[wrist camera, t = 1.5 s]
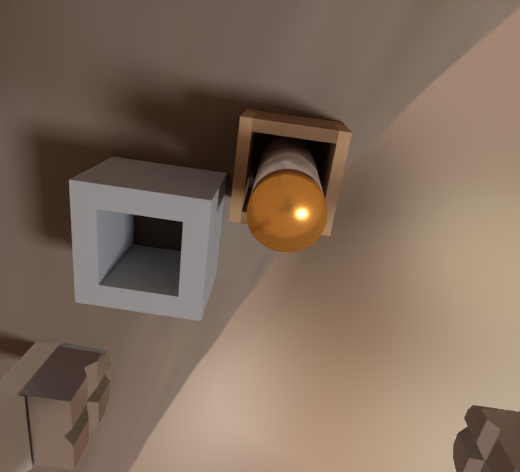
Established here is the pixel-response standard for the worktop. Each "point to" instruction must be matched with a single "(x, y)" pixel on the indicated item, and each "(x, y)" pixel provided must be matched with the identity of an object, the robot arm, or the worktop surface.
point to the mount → (296, 128)
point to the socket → (137, 256)
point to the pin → (287, 197)
